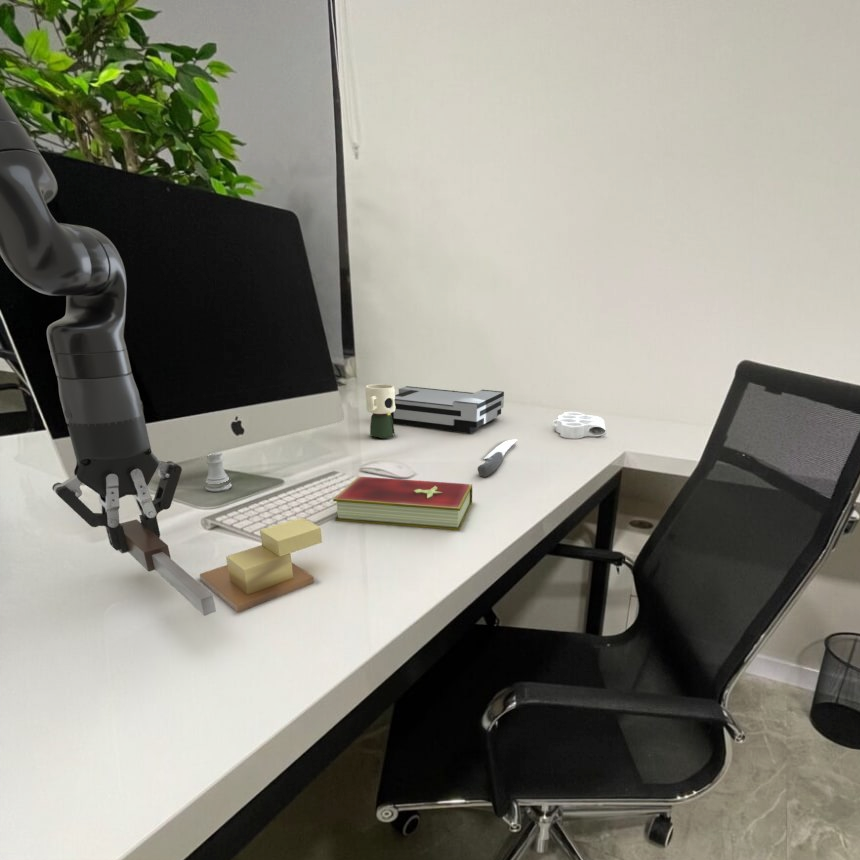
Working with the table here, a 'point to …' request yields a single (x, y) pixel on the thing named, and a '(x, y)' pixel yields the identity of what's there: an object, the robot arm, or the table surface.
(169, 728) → the table surface
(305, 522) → the butter pat
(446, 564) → the table surface
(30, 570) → the table surface
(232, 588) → the butter board
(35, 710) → the table surface
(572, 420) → the white dimpled palette
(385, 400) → the character mug
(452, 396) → the game console
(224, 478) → the rook chess piece
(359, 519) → the hardcover book
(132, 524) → the butter knife
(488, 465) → the kitchen knife
